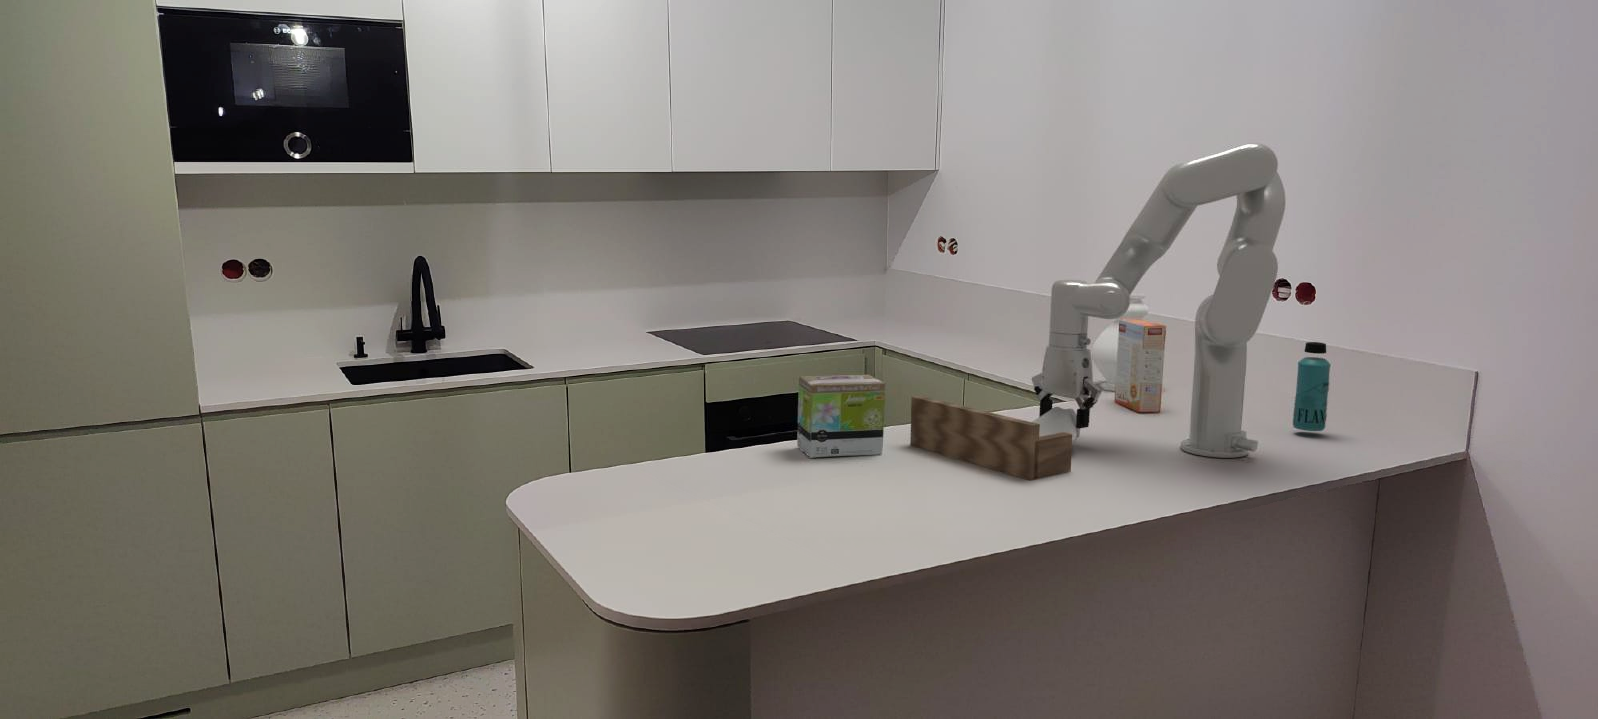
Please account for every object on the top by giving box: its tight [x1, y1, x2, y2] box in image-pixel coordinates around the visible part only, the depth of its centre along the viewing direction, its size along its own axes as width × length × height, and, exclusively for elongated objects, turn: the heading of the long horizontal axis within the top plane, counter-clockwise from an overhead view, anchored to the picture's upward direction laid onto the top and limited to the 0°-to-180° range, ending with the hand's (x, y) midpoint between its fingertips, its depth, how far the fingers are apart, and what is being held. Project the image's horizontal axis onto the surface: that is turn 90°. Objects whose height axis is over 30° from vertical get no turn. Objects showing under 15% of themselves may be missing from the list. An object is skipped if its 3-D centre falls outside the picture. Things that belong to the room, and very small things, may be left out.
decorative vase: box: [1091, 292, 1149, 392], centre depth 273 cm, size 18×18×25 cm
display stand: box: [909, 395, 1073, 481], centre depth 200 cm, size 32×11×10 cm, turn 35°
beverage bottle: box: [1292, 341, 1331, 432], centre depth 220 cm, size 6×7×20 cm
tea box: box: [796, 374, 886, 459], centre depth 204 cm, size 15×10×15 cm, turn 105°
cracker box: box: [1114, 319, 1167, 414], centre depth 248 cm, size 14×6×21 cm, turn 6°
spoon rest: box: [1031, 406, 1081, 446], centre depth 210 cm, size 24×12×7 cm, turn 151°
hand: (1063, 423), depth 213 cm, fingers open, 9 cm apart
